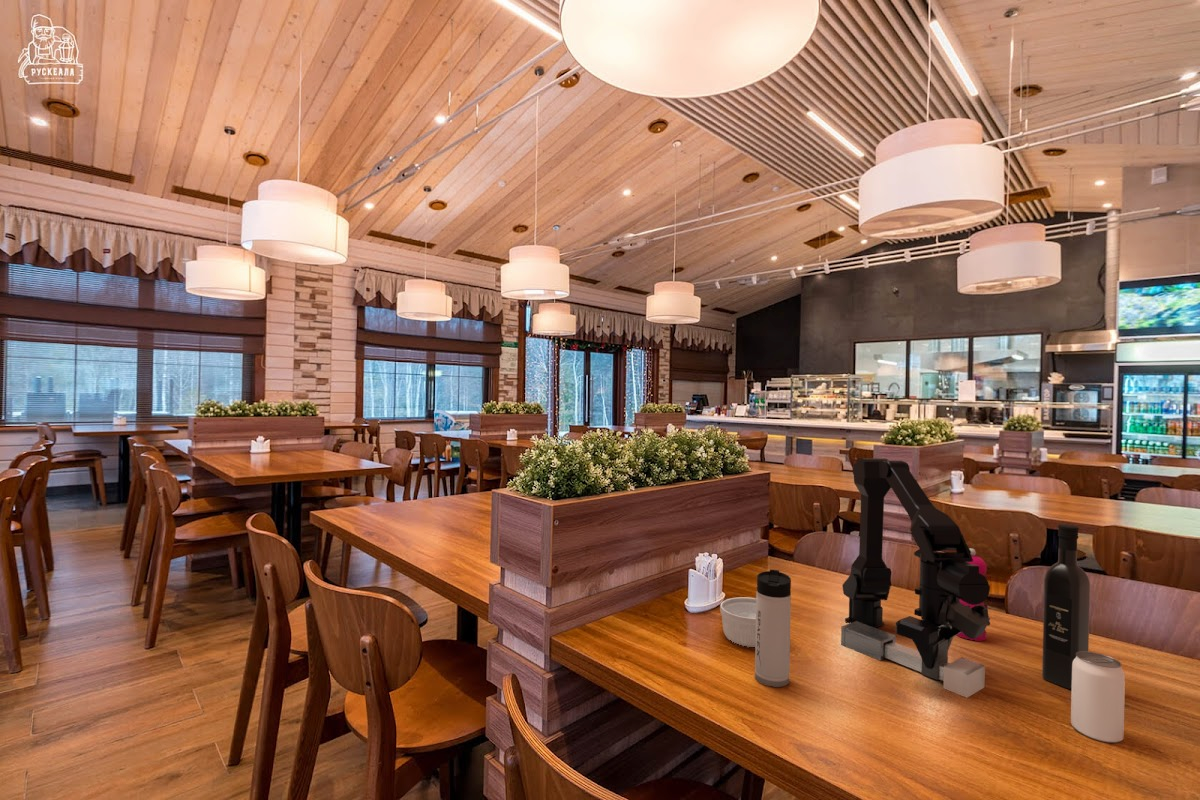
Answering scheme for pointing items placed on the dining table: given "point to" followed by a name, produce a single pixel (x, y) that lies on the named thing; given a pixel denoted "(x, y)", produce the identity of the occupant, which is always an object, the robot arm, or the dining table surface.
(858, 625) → the sleeve
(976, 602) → the robot arm
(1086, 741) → the dining table surface
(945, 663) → the grey l-shaped block
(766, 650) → the travel mug
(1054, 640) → the wine bottle
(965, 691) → the grey rectangular block
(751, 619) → the ramekin
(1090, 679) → the can
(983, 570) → the pepper mill
